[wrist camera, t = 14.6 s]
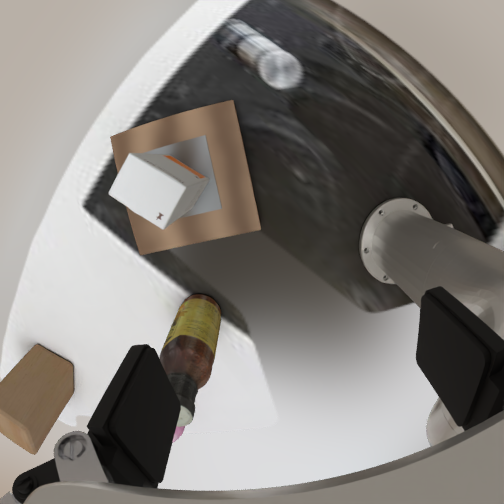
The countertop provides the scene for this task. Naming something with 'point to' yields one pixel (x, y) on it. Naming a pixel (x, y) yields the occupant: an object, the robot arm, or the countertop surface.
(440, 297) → the robot arm
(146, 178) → the skincare box
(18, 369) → the wooden block
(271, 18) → the countertop surface
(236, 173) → the walnut picture frame
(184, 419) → the sauce bottle
